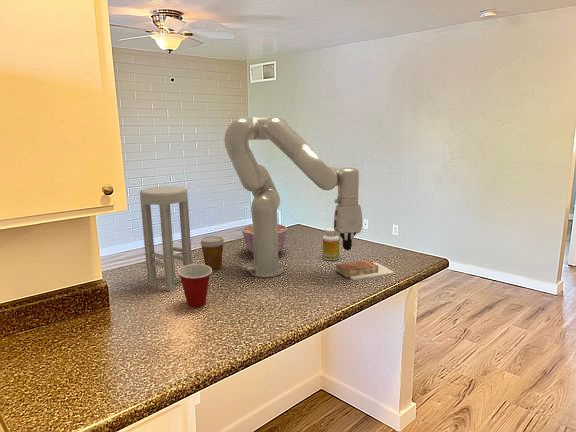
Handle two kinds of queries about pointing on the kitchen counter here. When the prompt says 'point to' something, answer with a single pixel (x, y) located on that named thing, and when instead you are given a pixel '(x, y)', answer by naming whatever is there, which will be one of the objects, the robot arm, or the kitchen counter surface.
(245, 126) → the robot arm
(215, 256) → the disposable coffee cup
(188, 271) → the plastic cup
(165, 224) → the stool
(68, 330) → the kitchen counter surface
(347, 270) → the slab
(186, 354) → the kitchen counter surface
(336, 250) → the supplement bottle
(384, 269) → the mat
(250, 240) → the bowl of food
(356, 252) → the kitchen counter surface
